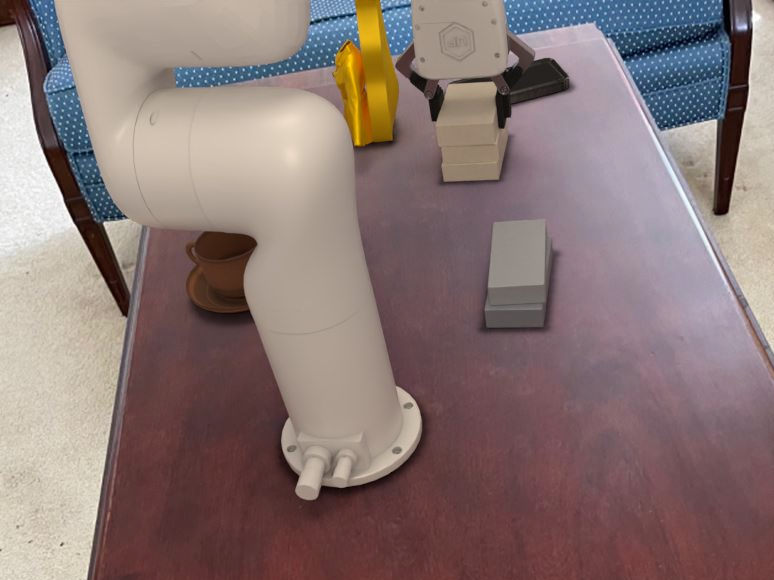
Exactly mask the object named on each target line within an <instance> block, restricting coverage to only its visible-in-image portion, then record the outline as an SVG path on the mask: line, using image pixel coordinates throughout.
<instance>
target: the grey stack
mask: <svg viewBox="0 0 774 580" xmlns="http://www.w3.org/2000/svg"><path fill="white" fill-rule="evenodd" d="M553 257H554V247H553V237H552V236H548V229H547V218H535V219H521V220H520V219H519V220H518V219H517V220H506V221H493V222H492V234H491V245H490V257H489V265H488V266H489V268H488V278H487V295H486V300H485V305H484V309H483V312H484V319H485V327H486V328H487V329H488V328H489V329H490V328H491V329H492V328H493V329H494V328H495V329H496V328H498V329H499V328H500V329H502V328H506V329H507V328H544V326H545V319H546V311H547V303H548V295H549V290H550V289H549V288H550V281H551V274H552V273H551V272H552V265H553Z"/></svg>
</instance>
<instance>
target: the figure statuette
mask: <svg viewBox="0 0 774 580" xmlns="http://www.w3.org/2000/svg"><path fill="white" fill-rule="evenodd" d="M381 2H382V1H381V0H354V5H355V11H356V12H355V13H356V22H357V30H358V31H357V32H358V39H359V47H360V48H358V47H357V45H355V44H354V41H352V40H350V39H347V40H345V42H344V43H343V44H342V46H341V47H340V49H339V50H338V52H337V53H336V55H335V56H334V57H335V58H334V63H335V69H334V71H333V72H331V74H332V77H333V78H334V82H335V85H336V87H337V89H338V90H339V92H340V95H341V99H342V102H343V113H344V114H343V117H344V119H345V120H346V123H347V125H348V127H349V130H350V134H351V138H352V143H353V147H355V148H363V147H365V148H366V145H368V144H371V143H382V142H383V143H384V142H392V141H393V137H394V136H393V131H394V124H395V120H396V115H397V110H398V104H399V99H400V84H399V80H398V76H397V72H396V68H395V64H394V61H393V57H392V54H391V50H390V46H389V41H388V37H387V30H386V26H385V20H384V16H383V11H382V3H381Z"/></svg>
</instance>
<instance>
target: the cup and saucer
mask: <svg viewBox="0 0 774 580" xmlns="http://www.w3.org/2000/svg"><path fill="white" fill-rule="evenodd" d="M257 245H258V244H257V241H256V240H255V239H254V238H253V237H251V236H249V235H245V234H238V233H225V232H213V231H202V233H200V235H198V237H197V239H195V241H194V240H191V241H188V242H187V243H186V245H185V248H184V249H185V253H186V255H187V257H188V259H190V261H192V263H194V264H196V265H195V266H194V267H193V268H192V269H191V271H190V272H189V274H188V276H187V277H186V280H185V291H186V294H187V296H188V298H189V300H191V301H192V303H194V304H195V305H196V306H198V307H199V308H201V309H204V310H205V311H211V312H214V313H220V314H234V313H235V314H236V313H244V312H248V311H250V309H249V306H248V303H247V300H246V296H245V292H244V273H245V269H246V265H247V263H248V261H249V258H250V257H251V255H252V253H253V251H254V250H255V248H256V246H257ZM192 249H193V251H194V253H193V251H192Z"/></svg>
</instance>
